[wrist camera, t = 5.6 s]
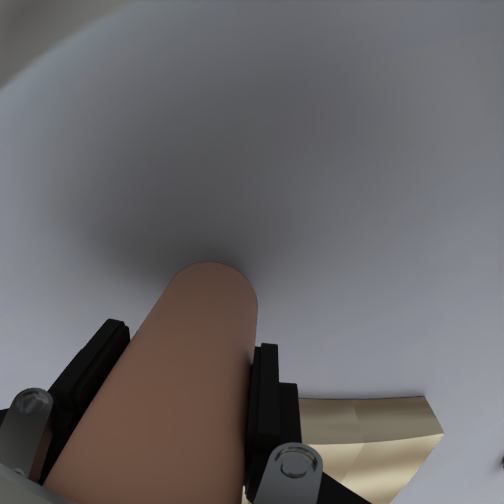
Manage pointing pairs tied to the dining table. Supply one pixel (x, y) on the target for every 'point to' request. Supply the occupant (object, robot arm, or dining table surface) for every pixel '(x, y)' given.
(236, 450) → the peg
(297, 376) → the dining table surface
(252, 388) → the robot arm
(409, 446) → the socket block
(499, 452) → the dining table surface
